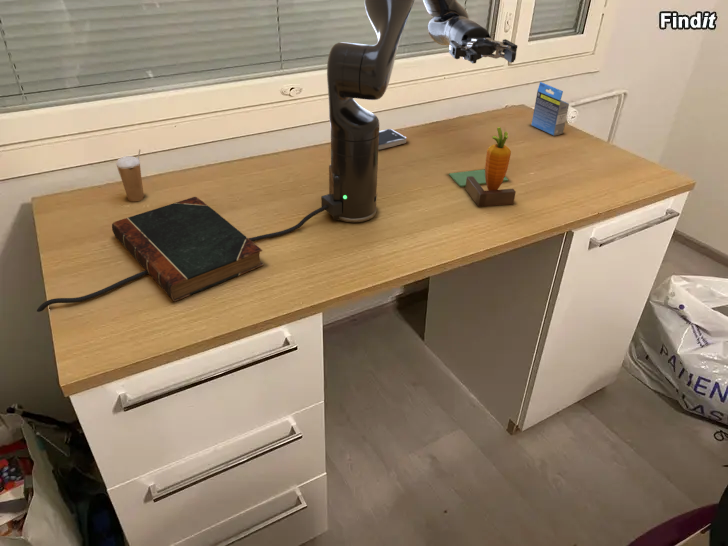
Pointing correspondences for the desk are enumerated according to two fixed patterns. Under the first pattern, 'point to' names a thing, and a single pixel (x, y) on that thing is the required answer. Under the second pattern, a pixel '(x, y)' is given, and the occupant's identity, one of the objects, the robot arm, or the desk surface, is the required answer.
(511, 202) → the corner stop
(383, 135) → the smartphone
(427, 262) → the desk surface
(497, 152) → the carrot
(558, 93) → the label tape box
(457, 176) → the rag
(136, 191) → the milkshake
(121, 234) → the book
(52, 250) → the desk surface
